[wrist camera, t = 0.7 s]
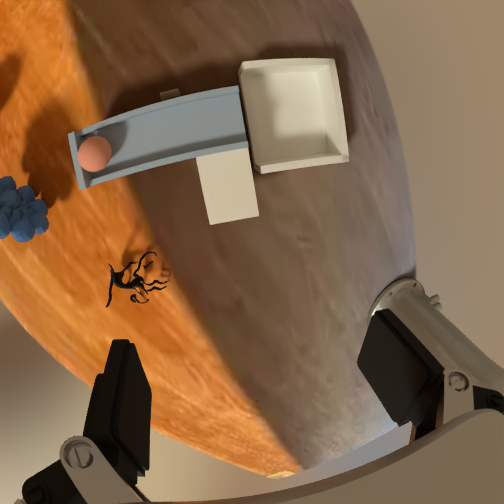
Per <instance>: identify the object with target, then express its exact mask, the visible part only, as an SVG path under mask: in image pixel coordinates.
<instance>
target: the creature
mask: <svg viewBox="0 0 504 504" xmlns="http://www.w3.org/2000/svg"><path fill="white" fill-rule="evenodd" d="M148 253H154V254H156V253H155V252H151V251H150V252H147V253H145V254H144V255H143V256H142V257H141V258H140V261H139V262H137V263H139V265H138V268H137V269H136V270H135V272H134V274H133V276H134V277H136V278H134V279H133V280H132V281H131V282H130V283H129V282H128V283H126V284H124V283H123V282H122V278H123V276H124V271H125V270H126V269H127V268H128V267H129V266H130V265H131V264H136V263H134V262H130V263H129V265H128V266H127V267H126V268H125V269H123V270H122V271H121V272H116V273H115V272H114V269H113V268H112V266H111V265H110V264H109V263H108V264H109V266H110V267H111V270H110V271H111V282H110V287H109V299H108V303H107V306H106V307H108V306H109V304H110V302H111V299H112V294H111V291H112V286H113V283H114V284H116V286H118V287H120V288H124V289H135V288H138V287H139V288H140V287H142V289H144V286H143V284H142V283H141V282H140V281H143V283H145V282H144V279H143V278H142V277H141V276H139V275H138V274H136V272H137V271H139V269H140V266H141V261H142V259H143V258H144V257H145V256H146V255H147V254H148ZM156 256H157V254H156ZM152 262H153V261H152ZM152 262H150V263H152ZM150 263H149V264H150ZM149 264H148V265H149ZM148 265H147V266H148ZM147 266H144V268H145V269H146V267H147ZM167 282H168V281H166V282H164V283H167ZM154 283H158V284H164V283H162V282H159V281H158V280H154V281H153V282H152V283H150V284H146V283H145V284H146V285H148V286H152V285H154ZM133 287H134V288H133ZM165 287H167V286H165ZM165 287H163V288H158V287H155V286H154V287H153V288H151V289H149V290H146V291H148V292H149V291H152V290H153V289H156V290H162V289H164V288H165ZM135 290H136V289H135ZM144 290H145V289H144ZM136 291H137V290H136ZM146 291H145V292H146ZM137 292H138V291H137ZM138 293H139V292H138ZM146 293H147V292H146ZM139 294H141V291H140V293H139ZM141 295H142V294H141ZM147 295H148V293H147ZM142 296H143V295H142ZM133 297H134V299H135V300H136V301H137V302H138V303H140V302H139V301H138V300H137V299H136V294H133V295H131V297H130V300H131V301H132V302H135V303H136V301H135V300H134V299H133ZM143 297H144V296H143ZM148 301H149V299H148ZM146 302H147V301H146ZM146 302H143V303H146ZM143 303H142V304H143Z"/></svg>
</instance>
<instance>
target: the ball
mask: <svg viewBox="0 0 504 504" xmlns="http://www.w3.org/2000/svg"><path fill="white" fill-rule="evenodd" d="M111 155H112V149H111V146H110V144H109V142H108V141H107V140H106V139H105V138H103V137H100V136H93V137H90V138H88V139H86V140H85V141H84V142H83V143H82V144H81V146H80V148H79V151H78V161H79V163H80V165H81V167H82V168H84V169H85V170H87V171H90V172H96V171H99V170H101V169H103V168H104V167H105V166H106V165H107V164H108V163H109V161H110V159H111Z"/></svg>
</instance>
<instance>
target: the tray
mask: <svg viewBox="0 0 504 504" xmlns="http://www.w3.org/2000/svg"><path fill="white" fill-rule="evenodd" d="M238 77H239V83H240V88H241V94H242V100H243V105H244V111H245V117H246V123H247V129H248V135H249V141H250V147H251V153H252V159H253V165H254V170H256V171H258V172H259V173H261V174H264V173H270V172H276V171H282V170H289V169H295V168H302V167H309V166H317V165H325V164H333V163H342V162H349V154H348V144H347V135H346V127H345V119H344V112H343V105H342V99H341V92H340V87H339V81H338V75H337V70H336V65H335V60H334V59H326V58H288V59H268V60H255V61H245V62H242V64H241V66H240V68H239V70H238Z"/></svg>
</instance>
